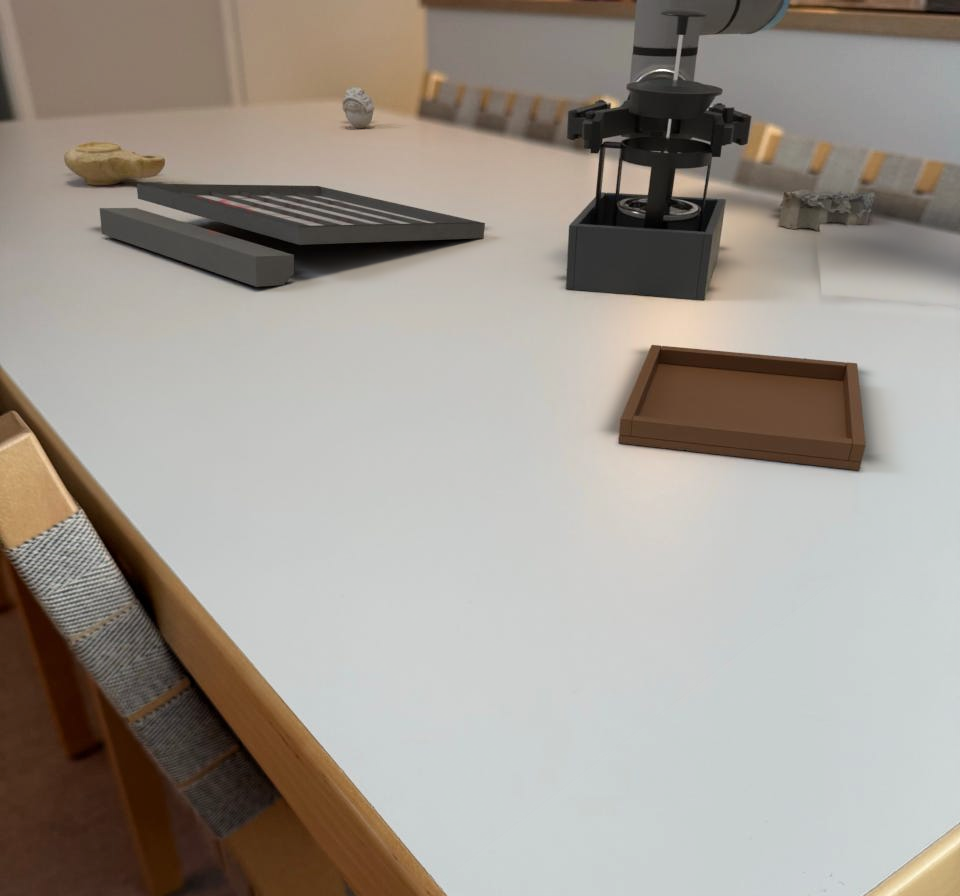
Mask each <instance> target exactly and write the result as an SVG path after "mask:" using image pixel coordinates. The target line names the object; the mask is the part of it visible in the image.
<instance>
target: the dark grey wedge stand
mask: <svg viewBox="0 0 960 896" xmlns="http://www.w3.org/2000/svg"><path fill="white" fill-rule="evenodd" d="M136 190H137V192H136V193H137V199H138V200H141V201H144V202H148V203H152V204H155V205H159V206H162V207H165V208H170V209H173V210H176V211H180V212H182V213H186V214H190V215H193V216H197V217H200V218H204V219H208V220H211V221H215V222H217V223H222V224H225V225H228V226H232V227H236V228H239V229H243V230H246V231H250V232H254V233H256V234H260V235H263V236H267V237H269V238H270V237H271V238H273V239H278V240H281V241H285V242H288V243H292V244H294V245H295V244H296V245H299V246H301V245H302V246H303V245H304V246H305V245H331V244H333V245H334V244H357V243H359V244H360V243H384V242H389V243H390V242H413V241H416V242H417V241H439V240H440V241H441V240H442V241H443V240H444V241H445V240H469V239H470V240H471V239H473V240H474V239H484V238H485V227H486V222H482V221H477V220H473V219H469V218H464V217H459V216H455V215H451V214H446V213H442V212H438V211H437V212H436V211H434V210H433V211H432V210H426V209H424V208H419V207H414V206H411V205H410V206H409V205H406V204H401V203H398V202H393V201H387V200H384V199H383V200H382V199H379V198H374V197H370V196H365V195H361V194H357V193H352V192H346V191H344V190H339V189H334V188H329V187H326V186H325V187H324V186H320V185H283V184H281V185H277V184H276V185H275V184H274V185H273V184H208V183H206V184H203V183H202V184H201V183H136ZM99 219H100V229H101V234H102V235H103V236H107V237H109V238H113V239H116V240H119V241H122V242H124V243H127V244H130V245H133V246H136V247H139V248H142V249H145V250H148V251H151V252H153V253H155V254H156V253H157V254H159V255H162V256H165V257H168V258H170V259H175V260H177V261H180V262H183V263H186V264H189V265H192V266H195V267H197V268H200V269H203V270H206V271H209V272H212V273H215V274H217V275H220V276H224V277H226V278H229V279H232V280H236V281H238V282H241V283H245V284H247V285H250V286H253V287H256V288H257V287H258V288H259V287H273V286H284V285H285V284H286V283H287V282H288V281H289V280H290V279H291V278H292V277H293V276H294V275H295V254H292V253H288V252H286V251H282V250H278V249H275V248H272V247H268V246H265V245H262V244H258V243H255V242H252V241H248V240H245V239H242V238H238V237H235V236H231V235H228V234H225V233H223V232H218V231H215V230H211V229H209V228H204V227H201V226H199V225H194V224H191V223H188V222H184V221H181V220H178V219H175V218H171V217H168V216H165V215H161V214H157V213H154V212H151V211H148V210H145V209H141V208H138V207H99Z"/></svg>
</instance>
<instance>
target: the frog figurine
mask: <svg viewBox="0 0 960 896" xmlns="http://www.w3.org/2000/svg"><path fill="white" fill-rule="evenodd" d="M345 90H346V91H345V94H344V98H343V99H342V111H343V112H344V114H345V118H346V119H347V121H348V123H349V124H350V125H351V126H353V127H354V128H356V129H364V128H366V127H367V126H369V125H370V123H371V122H372V119H373V115H374V111H375V104H374V102H373V100H372V97H371V96H370V95H369V94H368V93H367V92H365V90H363V89H362V88H361V87H359V86H358V87H356V86H352V88H350V89H349V88H347V89H345Z"/></svg>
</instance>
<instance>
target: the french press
mask: <svg viewBox="0 0 960 896" xmlns="http://www.w3.org/2000/svg"><path fill="white" fill-rule="evenodd" d="M660 14H661V15H668V16H678V20H677V32H676V34H677V35H679V40H678V47H677V55H676V63H675V71H674V79H656V80H649V81H641V82H632V83H630V82H629V83H627V84H626V90H627V91H628V92H629V91H631V94H630V104H629V112H631V113H633V114H637V115H641V116H647V117H654V118H664V119H668V126H667V133H666V137H634V138H624V139H622V140H621V141H609V140H608V141H607V140H605V141H604V142H603V141H602V145H601V148H600V150H599V153H598V154H599V155H598V168H597V177H596V188H595V196H594V198H595V208H594V219H593V225H598V222H599V212H600V201H601V192H602V190H603V181H604V180H603V179H604V178H603V177H604V169H605V158H606V149H617V150H619V156H618V166H617V176H616V184H615V185H616V186H615V193H616V194H615V204H614V213H613V223H612V226H616V220H617V210H618V211H619V213H621V214H623V215H625V216H627V217H631V218H634V219H639V220H644V221H645V223H644V227H642V228H651V229H667V230H670V229H668V222H682V221H689V220H693V219H696V218H698V217H699V212H700V211H701V214H700V220H699V227H698V231H699V232H701V227H702V220H703V214H704V207H705V201H706V198H707V193H708V188H709V181H710V175H711V168H712V162H713V157H712V153H711V152H712V148H711V145H710V143H709V142H706V141H702V140H697V139H684V138H675V137H670V132H671V125H672V119H695V118H698V117H700V116H701V115H702V114H703V113H704V112H705V111H706V110H707V111H708V109H709V106H711V105H712V103H713V102H714V100H715V99H716V97H718V96H721V95H722V94H723V88H721V87H719V86H715V85H712V84H705V83H702V82H698V81H695V80H694V81H687V80H677V78H678V71H679V63H680V55H681V48H682V40H683V35H686V32H687V27H688V21H689V17H706V16H707V14H706V13H705V12H703V11H700V10H695V9H684V8H676V9H668V10H664V11H662V12H661V13H660ZM623 163H628V164H631V165H637V166H642V167H648V168H650V175H649V184H648V190H647V195H648V197H634V198H627V199H623V200H621V201H619V193H620V190H621V180H622V173H623V172H622V171H623ZM703 167H707V169H706V174H705V175H706V177H705V183H704V189H703V195H702V198H703V201H702V207H700V206H698V205H696V204H694V203H691V202H688V201H684V200H679V199H672V196H673V192H674V185H675V184H674V183H675V178H676V177H675V176H676V169H677V170H678V169H679V170H683V169H687V170H688V169H699V168H703ZM618 201H619V202H618Z"/></svg>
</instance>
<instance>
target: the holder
mask: <svg viewBox="0 0 960 896" xmlns="http://www.w3.org/2000/svg"><path fill="white" fill-rule="evenodd" d="M615 194H616V192H604V191H603V192H602V191H601V201H600V212H599V222H598V225H593V219H594V208H595V197H594V198H593V199H592V200H591V201H590V202H589V203H588V204H587V205H586V207H585V208H584V209H582V211H581V212H580V213H579V214H578V215H577V216H576V217H575V218H574V219H573V221H572V222H570V224H569V225H568V238H567V239H568V241H567V259H566V278H565V289H566V290H571V291H572V290H574V291H583V292H584V291H585V292H595V293H596V292H598V293H608V292H609V293H610V294H621V293H624V294H623V295H633V294H636V295H635V296H646V295H649V297H659V296H662V297H661V298H671V297H674V298H673V299H684V298H687V299H686V300H697V299H700V300H701V301H704V300H705V298H706V296H707V292H708V289H709V287H710V285H711V284H710V283H711V280H712V277H713V274H714V271H715V268H716V264H717V261H718V259H719V253H720V245H721V238H722V230H723V224H724V217H725V208H726V201H727V199H726V198H712V197H706V201H705V207H704V214H703V220H702V227H701V232H699V231H698V227H699V220H700V214H701V211H700V212H699V217H698V218H696V219H693V220H689V221H682V222H668V229H670V230H667V229H651V228H642V227H644V223H645V221H644V220H639V219H634V218H631V217H627V216H625V215H623V214H621V213H619V211H618V210H617V220H616V226H612V223H613V213H614V204H615ZM634 197H648V194H642V193H641V194H638V193H623V192H619V201H621V200H623V199H627V198H634ZM672 199H679V200H684V201H688V202H691V203H694V204H696V205H698V206H700V207H702V201H703V197H695V196H693V197H692V196H676V195H672ZM619 201H618V202H619Z"/></svg>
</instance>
